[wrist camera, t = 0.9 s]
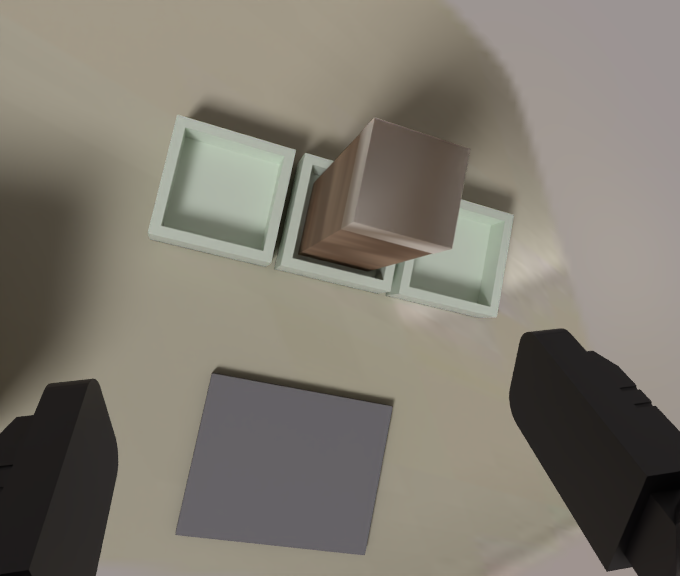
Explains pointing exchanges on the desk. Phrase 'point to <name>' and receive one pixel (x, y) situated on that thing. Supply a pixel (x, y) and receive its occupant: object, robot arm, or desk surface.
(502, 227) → the tray
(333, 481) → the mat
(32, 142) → the desk surface
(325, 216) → the brown wooden block
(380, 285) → the tray
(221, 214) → the tray
